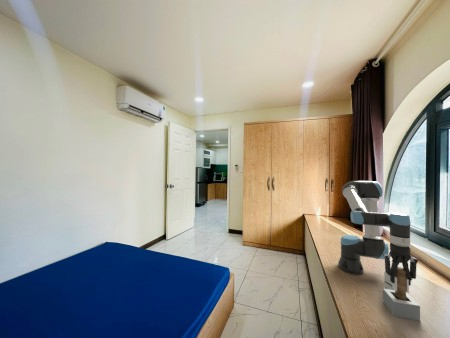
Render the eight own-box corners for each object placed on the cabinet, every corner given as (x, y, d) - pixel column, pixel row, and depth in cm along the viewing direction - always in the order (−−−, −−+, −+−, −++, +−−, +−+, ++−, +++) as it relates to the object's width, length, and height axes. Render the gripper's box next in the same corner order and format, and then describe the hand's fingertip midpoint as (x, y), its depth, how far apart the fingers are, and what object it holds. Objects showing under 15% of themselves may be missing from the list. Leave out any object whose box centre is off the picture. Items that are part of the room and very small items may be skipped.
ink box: (391, 296, 102) (391, 276, 102) (383, 290, 107) (383, 271, 107) (406, 296, 102) (406, 275, 102) (397, 290, 107) (397, 270, 107)
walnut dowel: (393, 294, 94) (393, 266, 94) (402, 296, 93) (402, 267, 93) (398, 300, 90) (397, 270, 90) (408, 301, 89) (407, 271, 89)
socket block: (383, 301, 98) (383, 288, 98) (406, 305, 95) (406, 292, 95) (394, 316, 88) (394, 301, 88) (420, 321, 85) (420, 305, 85)
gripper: (383, 244, 91) (384, 291, 90) (427, 249, 86) (427, 298, 85) (376, 239, 98) (376, 282, 98) (415, 243, 93) (416, 288, 92)
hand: (400, 289), depth 91 cm, fingers closed on walnut dowel, 4 cm apart
